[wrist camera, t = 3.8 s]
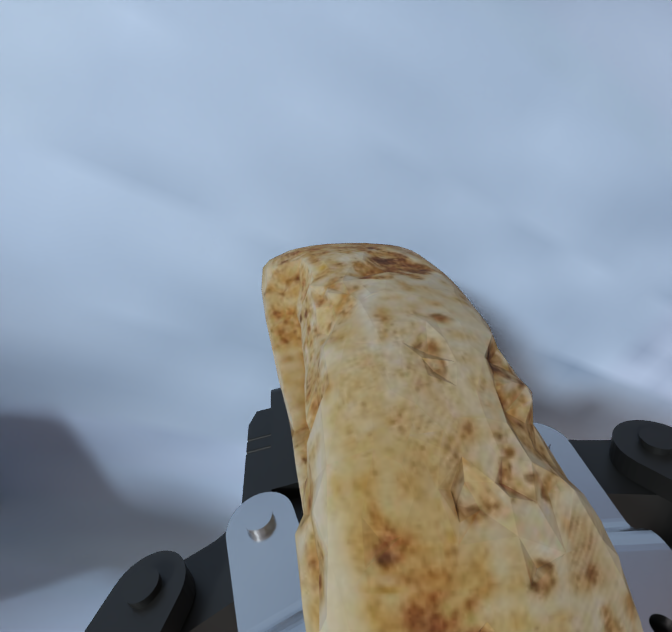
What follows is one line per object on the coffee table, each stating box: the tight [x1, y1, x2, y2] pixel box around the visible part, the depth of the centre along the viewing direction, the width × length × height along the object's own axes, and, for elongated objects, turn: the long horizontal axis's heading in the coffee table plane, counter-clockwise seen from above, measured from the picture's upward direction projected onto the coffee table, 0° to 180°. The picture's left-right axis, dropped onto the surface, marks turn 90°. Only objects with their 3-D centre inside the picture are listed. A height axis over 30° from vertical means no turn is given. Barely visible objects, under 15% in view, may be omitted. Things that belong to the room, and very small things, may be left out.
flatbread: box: [262, 243, 643, 632], centre depth 8 cm, size 10×4×10 cm, turn 7°
